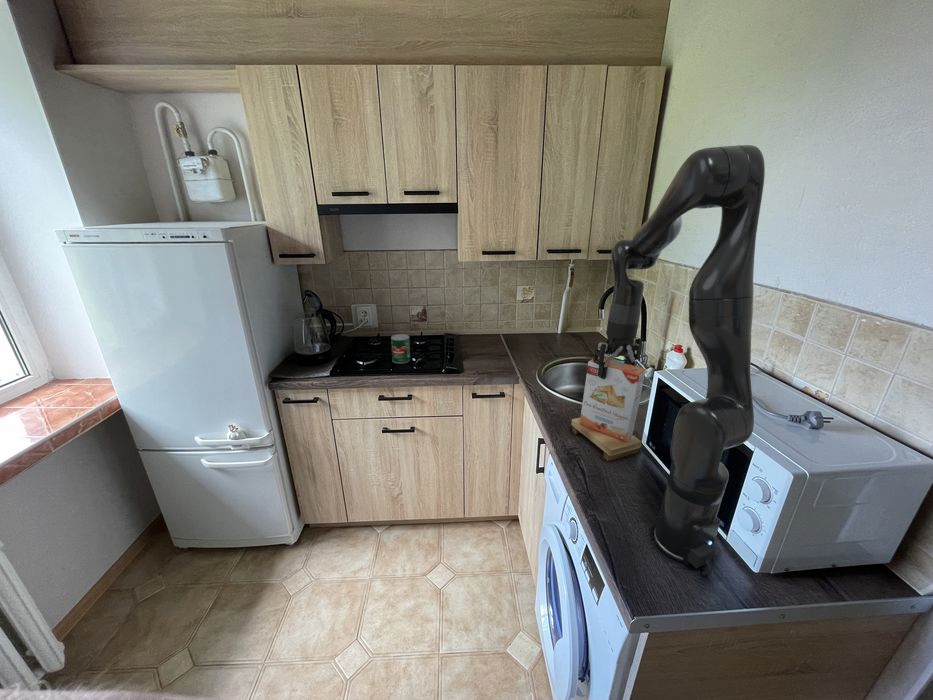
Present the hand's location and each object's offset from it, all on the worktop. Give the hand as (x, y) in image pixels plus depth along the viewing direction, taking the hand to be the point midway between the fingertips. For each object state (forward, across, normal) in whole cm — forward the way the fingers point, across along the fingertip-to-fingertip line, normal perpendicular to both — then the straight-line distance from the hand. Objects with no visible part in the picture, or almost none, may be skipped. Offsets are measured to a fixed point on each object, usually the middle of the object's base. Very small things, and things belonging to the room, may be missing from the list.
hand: (614, 375), depth 105 cm
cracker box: (+18, 0, 0) cm, 18 cm away
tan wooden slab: (+21, 0, 0) cm, 21 cm away
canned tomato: (+21, -41, +83) cm, 95 cm away
